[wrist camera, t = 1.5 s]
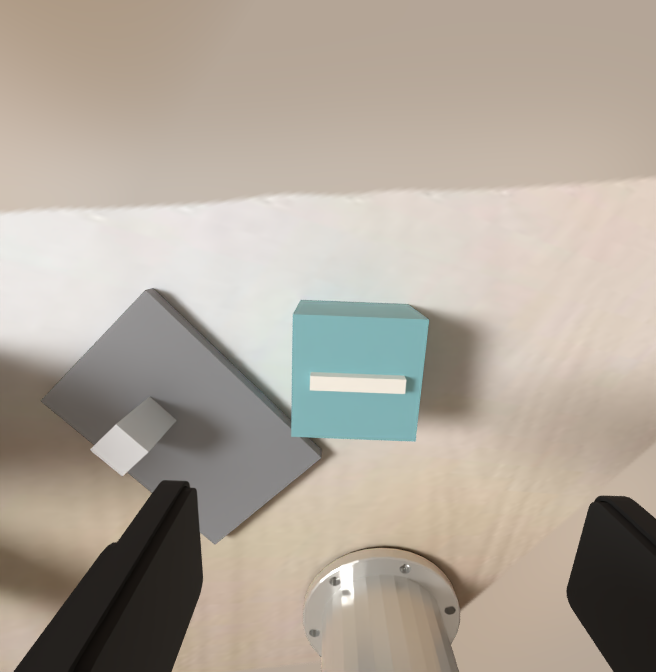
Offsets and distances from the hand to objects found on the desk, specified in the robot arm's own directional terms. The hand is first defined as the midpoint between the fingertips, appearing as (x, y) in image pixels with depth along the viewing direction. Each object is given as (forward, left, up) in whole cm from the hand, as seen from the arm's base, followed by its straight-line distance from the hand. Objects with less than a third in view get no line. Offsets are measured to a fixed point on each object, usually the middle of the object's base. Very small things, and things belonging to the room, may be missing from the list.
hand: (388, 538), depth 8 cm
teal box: (0, 0, -16) cm, 16 cm away
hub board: (+4, +12, -16) cm, 20 cm away
